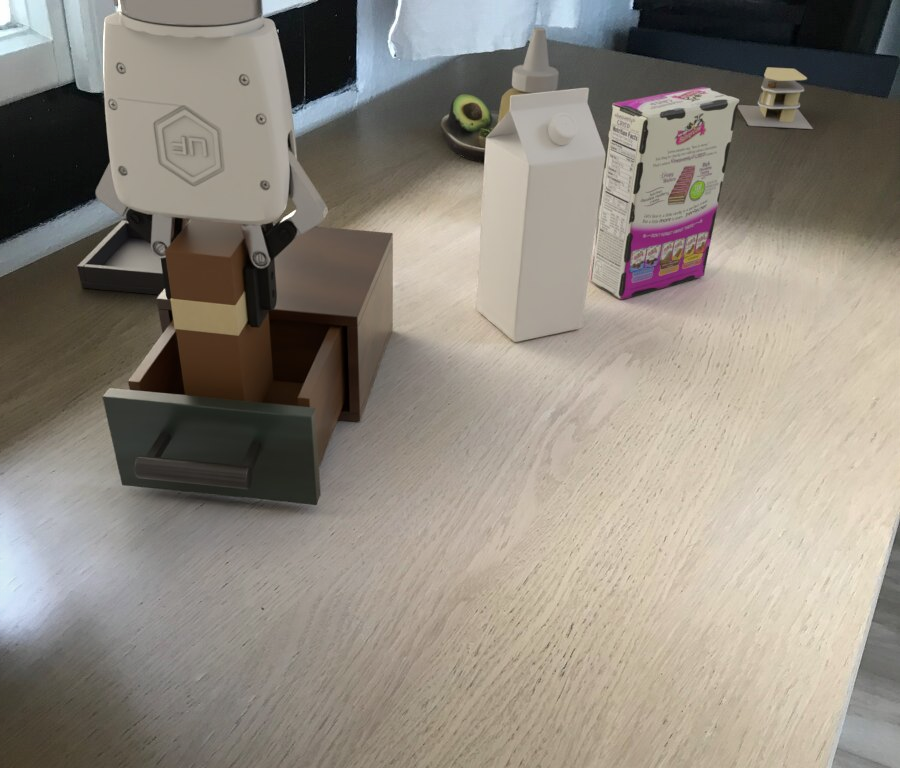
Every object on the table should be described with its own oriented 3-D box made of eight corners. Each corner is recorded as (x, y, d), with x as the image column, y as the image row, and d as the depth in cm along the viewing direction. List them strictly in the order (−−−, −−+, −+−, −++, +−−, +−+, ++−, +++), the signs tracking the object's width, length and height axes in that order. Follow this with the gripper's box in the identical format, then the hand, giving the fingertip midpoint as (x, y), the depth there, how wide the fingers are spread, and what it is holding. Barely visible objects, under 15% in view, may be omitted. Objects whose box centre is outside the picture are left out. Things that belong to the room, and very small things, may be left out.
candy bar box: (670, 260, 100) (704, 84, 89) (704, 278, 97) (744, 98, 86) (585, 282, 96) (610, 99, 85) (619, 302, 92) (649, 115, 82)
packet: (188, 425, 66) (163, 250, 58) (219, 373, 71) (200, 207, 63) (247, 432, 66) (231, 258, 58) (274, 379, 71) (262, 213, 63)
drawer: (302, 544, 62) (295, 454, 58) (97, 523, 63) (74, 432, 58) (357, 396, 76) (355, 313, 72) (189, 380, 77) (176, 297, 72)
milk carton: (474, 310, 90) (488, 83, 77) (540, 297, 93) (564, 76, 80) (513, 344, 85) (534, 109, 73) (582, 329, 88) (614, 100, 75)
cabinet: (360, 422, 75) (357, 316, 69) (173, 404, 76) (156, 298, 70) (392, 329, 87) (392, 232, 81) (231, 314, 87) (219, 218, 82)
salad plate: (566, 118, 135) (570, 81, 132) (611, 161, 122) (617, 122, 119) (429, 122, 131) (430, 85, 128) (461, 167, 119) (463, 127, 116)
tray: (81, 288, 90) (76, 266, 89) (125, 241, 99) (122, 220, 97) (232, 301, 89) (230, 279, 88) (264, 253, 98) (262, 232, 96)
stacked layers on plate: (735, 105, 143) (744, 63, 140) (797, 108, 143) (807, 66, 140) (748, 125, 136) (758, 82, 132) (813, 129, 136) (824, 86, 132)
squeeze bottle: (524, 195, 113) (540, 16, 101) (575, 216, 108) (597, 32, 96) (471, 209, 109) (481, 25, 97) (521, 233, 104) (538, 42, 92)
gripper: (3, -10, 49) (75, 326, 62) (331, 20, 49) (338, 355, 61) (64, -37, 55) (119, 277, 67) (359, -10, 54) (361, 302, 66)
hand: (223, 311), depth 64 cm, fingers closed on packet, 4 cm apart
